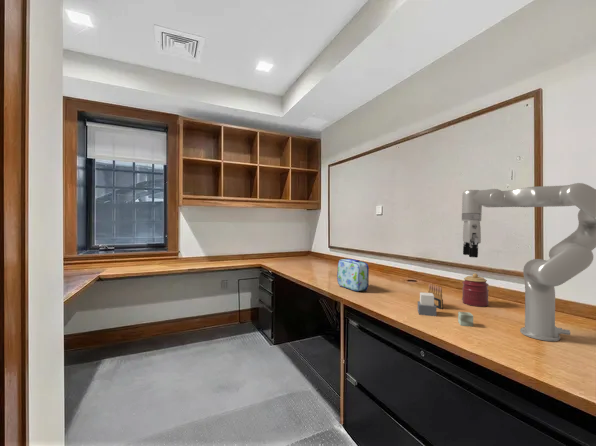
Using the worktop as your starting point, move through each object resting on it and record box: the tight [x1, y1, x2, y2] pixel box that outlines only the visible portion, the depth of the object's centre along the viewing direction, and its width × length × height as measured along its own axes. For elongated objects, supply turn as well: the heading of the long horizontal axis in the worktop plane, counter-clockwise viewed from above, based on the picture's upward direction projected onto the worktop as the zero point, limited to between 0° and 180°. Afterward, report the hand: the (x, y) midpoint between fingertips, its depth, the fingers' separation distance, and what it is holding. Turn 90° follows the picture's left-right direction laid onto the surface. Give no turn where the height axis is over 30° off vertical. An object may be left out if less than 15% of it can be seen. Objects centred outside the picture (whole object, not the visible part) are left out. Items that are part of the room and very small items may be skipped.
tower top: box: [419, 291, 434, 306], centre depth 147 cm, size 6×6×5 cm
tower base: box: [417, 300, 437, 317], centre depth 146 cm, size 8×8×5 cm
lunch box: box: [336, 258, 370, 292], centre depth 201 cm, size 26×11×21 cm, turn 27°
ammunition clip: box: [427, 282, 444, 310], centre depth 159 cm, size 11×2×12 cm, turn 13°
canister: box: [461, 272, 489, 307], centre depth 164 cm, size 13×13×18 cm
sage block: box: [457, 311, 474, 327], centre depth 130 cm, size 5×5×5 cm
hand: (470, 255), depth 127 cm, fingers open, 9 cm apart
